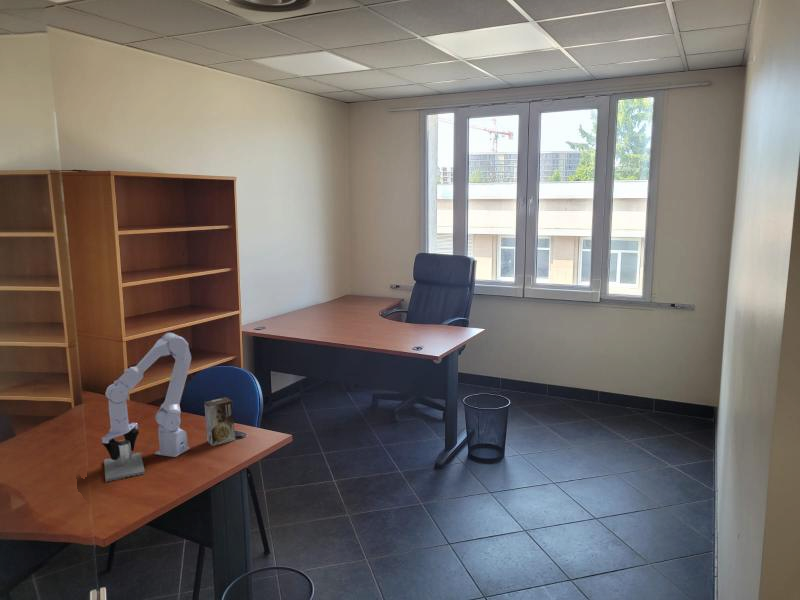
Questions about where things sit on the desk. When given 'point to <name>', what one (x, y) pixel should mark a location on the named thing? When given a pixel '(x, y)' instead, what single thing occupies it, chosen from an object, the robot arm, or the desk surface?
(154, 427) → the desk surface
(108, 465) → the duct board
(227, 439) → the coffee box
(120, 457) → the collar
